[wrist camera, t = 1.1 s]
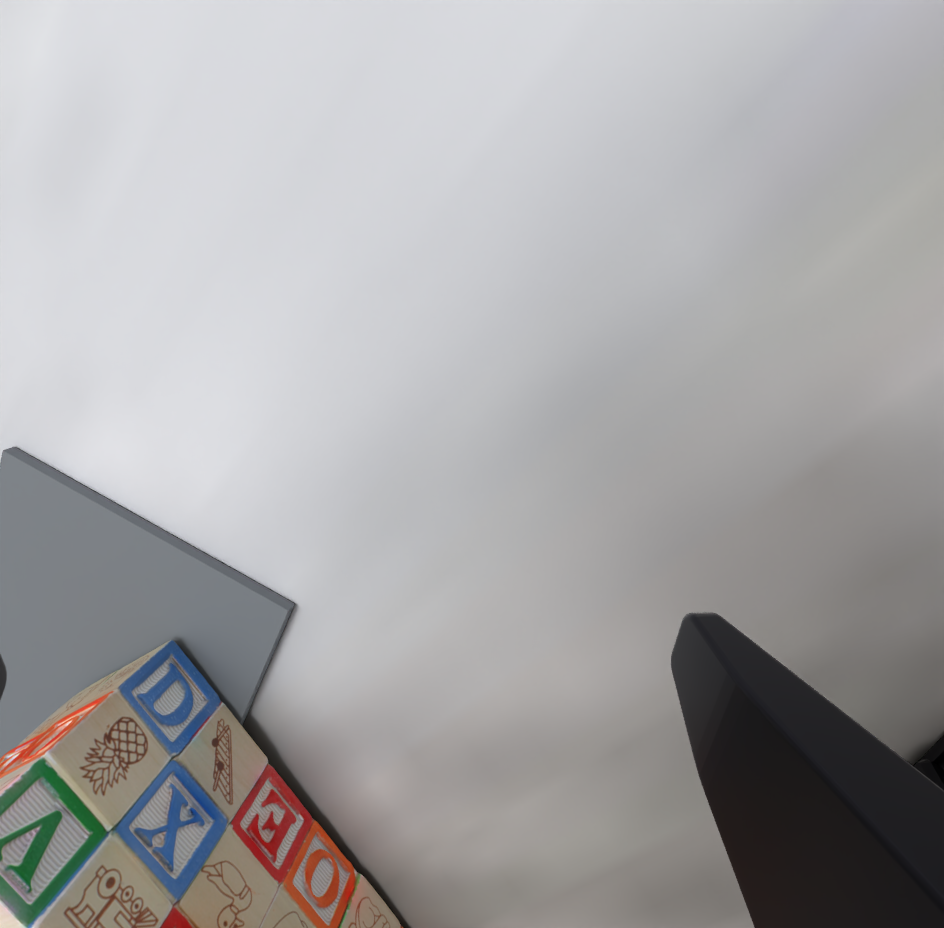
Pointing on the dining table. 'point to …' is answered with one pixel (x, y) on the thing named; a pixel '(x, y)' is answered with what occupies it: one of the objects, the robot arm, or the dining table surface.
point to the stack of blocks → (163, 818)
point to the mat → (112, 599)
